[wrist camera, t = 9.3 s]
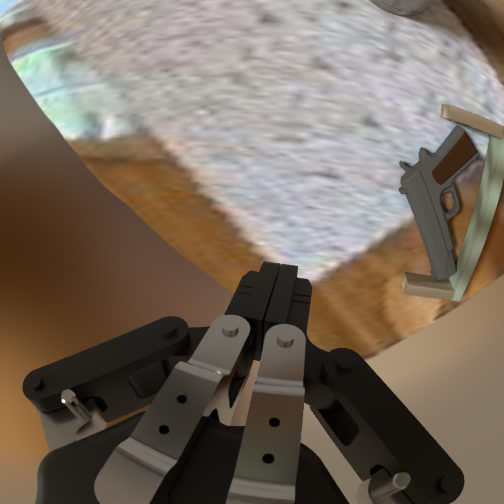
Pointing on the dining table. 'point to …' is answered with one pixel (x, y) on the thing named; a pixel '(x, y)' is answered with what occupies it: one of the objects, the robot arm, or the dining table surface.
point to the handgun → (437, 196)
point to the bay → (495, 171)
